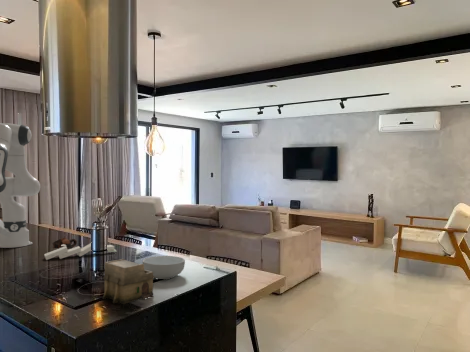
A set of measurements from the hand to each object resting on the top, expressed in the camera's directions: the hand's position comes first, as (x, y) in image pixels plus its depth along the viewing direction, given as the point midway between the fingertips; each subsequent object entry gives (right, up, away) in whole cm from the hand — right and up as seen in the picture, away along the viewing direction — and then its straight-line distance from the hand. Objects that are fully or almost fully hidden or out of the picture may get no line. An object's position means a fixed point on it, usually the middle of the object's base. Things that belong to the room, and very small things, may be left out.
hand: (9, 235), depth 163 cm
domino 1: (+12, -12, +8) cm, 19 cm away
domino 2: (+17, -12, +11) cm, 24 cm away
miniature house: (+68, -14, -43) cm, 81 cm away
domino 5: (+31, -13, +21) cm, 40 cm away
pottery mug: (+12, -13, +28) cm, 33 cm away
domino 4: (+30, -11, +20) cm, 38 cm away
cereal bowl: (+74, -14, -19) cm, 78 cm away
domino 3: (+24, -12, +16) cm, 31 cm away
